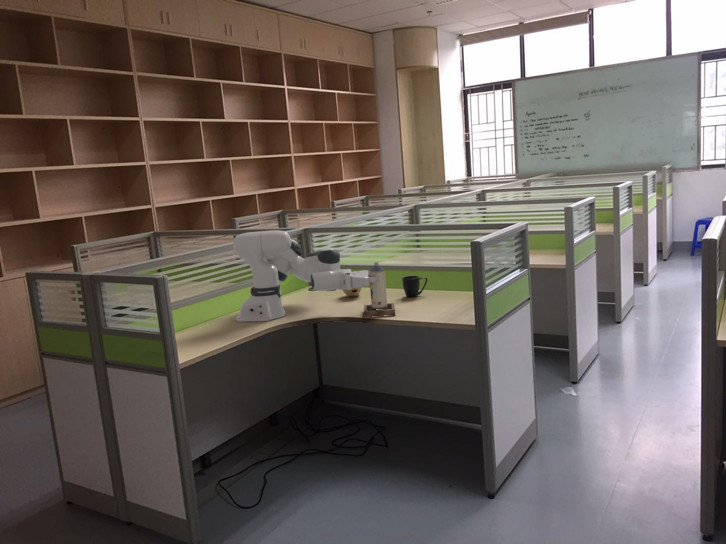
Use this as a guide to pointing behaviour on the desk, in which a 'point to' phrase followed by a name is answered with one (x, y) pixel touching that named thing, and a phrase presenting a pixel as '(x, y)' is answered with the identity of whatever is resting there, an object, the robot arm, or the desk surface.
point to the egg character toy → (352, 292)
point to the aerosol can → (378, 287)
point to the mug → (412, 286)
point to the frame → (379, 312)
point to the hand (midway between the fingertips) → (379, 276)
